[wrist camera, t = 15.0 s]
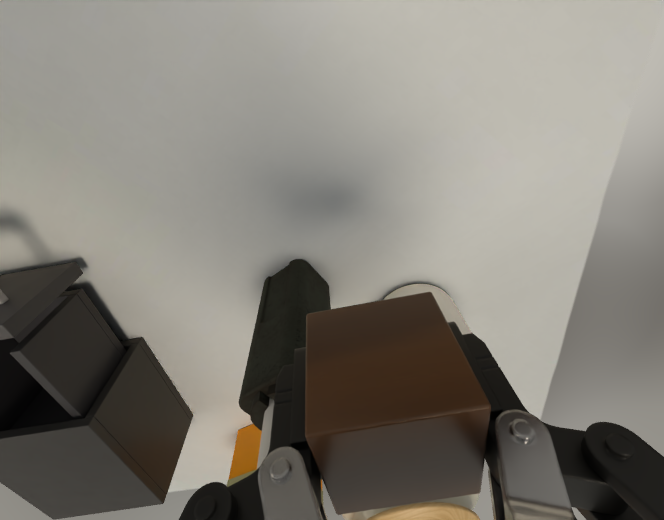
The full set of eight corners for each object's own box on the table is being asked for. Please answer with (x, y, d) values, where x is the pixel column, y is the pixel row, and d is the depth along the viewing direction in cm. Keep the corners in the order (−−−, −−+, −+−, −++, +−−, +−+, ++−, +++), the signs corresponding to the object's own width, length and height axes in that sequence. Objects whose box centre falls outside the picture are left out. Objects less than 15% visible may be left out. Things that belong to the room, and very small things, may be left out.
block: (305, 312, 12) (303, 437, 8) (431, 290, 11) (492, 406, 8) (329, 391, 14) (336, 516, 10) (433, 373, 14) (481, 494, 10)
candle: (293, 315, 33) (260, 768, 12) (258, 283, 31) (142, 772, 10) (333, 290, 32) (377, 752, 11) (300, 254, 30) (271, 752, 8)
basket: (-87, 231, 26) (-225, 291, 19) (39, 208, 25) (-58, 261, 19) (50, 376, 35) (-12, 451, 28) (144, 361, 34) (103, 433, 28)
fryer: (35, 354, 34) (-51, 447, 26) (142, 337, 34) (88, 425, 26) (104, 428, 41) (53, 519, 33) (193, 415, 41) (163, 504, 33)
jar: (377, 437, 46) (410, 624, 31) (311, 397, 40) (312, 599, 25) (457, 393, 41) (540, 583, 26) (395, 342, 36) (456, 543, 21)
